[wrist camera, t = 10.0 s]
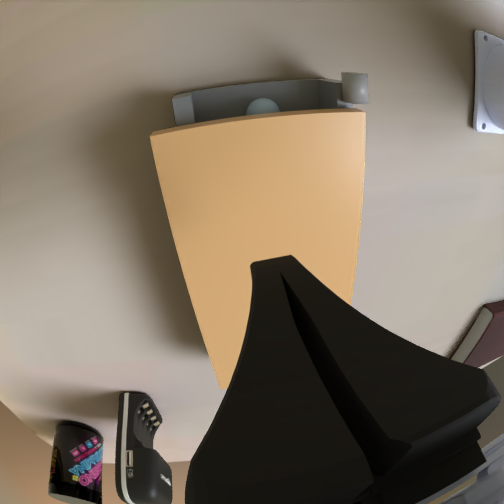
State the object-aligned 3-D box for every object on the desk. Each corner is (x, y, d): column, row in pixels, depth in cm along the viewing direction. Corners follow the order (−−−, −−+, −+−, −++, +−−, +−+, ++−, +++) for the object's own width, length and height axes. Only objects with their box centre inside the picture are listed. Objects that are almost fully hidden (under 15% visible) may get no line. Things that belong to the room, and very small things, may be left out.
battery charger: (170, 419, 31) (178, 512, 21) (138, 420, 30) (140, 512, 21) (154, 388, 27) (158, 500, 17) (118, 389, 26) (113, 498, 17)
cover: (355, 108, 13) (365, 111, 12) (335, 354, 23) (340, 364, 22) (153, 131, 12) (149, 136, 11) (219, 378, 22) (220, 389, 21)
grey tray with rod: (336, 70, 14) (372, 74, 11) (327, 336, 26) (343, 370, 23) (174, 85, 14) (168, 89, 10) (230, 357, 26) (237, 395, 22)
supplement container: (105, 444, 33) (104, 510, 25) (60, 434, 31) (54, 500, 23) (102, 425, 30) (99, 502, 22) (51, 414, 28) (41, 489, 19)
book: (483, 300, 31) (497, 317, 28) (538, 287, 35) (549, 299, 32) (440, 364, 38) (450, 380, 35) (503, 340, 42) (512, 352, 39)
